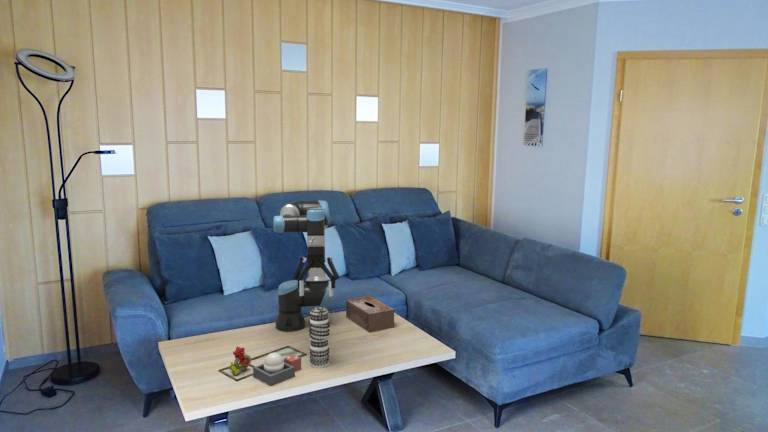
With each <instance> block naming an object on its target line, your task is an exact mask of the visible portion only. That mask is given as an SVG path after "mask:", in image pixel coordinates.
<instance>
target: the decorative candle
mask: <svg viewBox="0 0 768 432" xmlns="http://www.w3.org/2000/svg"><path fill="white" fill-rule="evenodd" d="M308 313H309V317H310V318H309V320H308V322H307V323H308V332H309V333H308V336H309V340H310V344H309V347H310V348H309V351H310V352H309V365H310V367H312V368H316V369H318V368H319V369H322V368H325V367H328V366H329V365H330V347H329V340H330V331H331V330H330V329H329V328H330V327H331V325H330V323H331V321H330V320H329V310H328V309H327V308H326V306H313V308H311V310H309V311H308Z"/></svg>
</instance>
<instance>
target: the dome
mask: <svg viewBox="0 0 768 432" xmlns="http://www.w3.org/2000/svg"><path fill="white" fill-rule="evenodd" d="M263 364H264V371H265V372H267V373H269V374H271V375H272V374H274V373H277V372H279V371H282V370H284V361H283V358H282V356H281V355H280V354H278V353H270V354H269V355H265V358H264V361H263Z"/></svg>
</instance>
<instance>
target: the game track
mask: <svg viewBox="0 0 768 432" xmlns="http://www.w3.org/2000/svg"><path fill="white" fill-rule="evenodd" d="M270 353H278V354H280V355H281V356H282V358H283V361H284V358H286V357H288V356H291V355H296V356H298V357H300V358H302V357H305V356H307V355H308V354H307V353H306V352H304V351H302V350H299V349H297V348H295V347H292V346H290V345H286V346H283V347H281V348H278V349H275V350H271V351H269V352H265V353H263V354H260V355H257V356H254V357H251V361H254V360H257V359H259V358H263V357H266V356H267V355H269V354H270ZM229 366H230V365H228V366H225V367H223V368H220V369H218V372H219V373H220V374H223V375H225V376H226V377H228V378H230V379H232V380H233V381H235V382H238V381H241V380H245V379H247V378H249V377H252V376H253V372H252V373H249V374H247V375H244V376H242V377H241V376H240V377H239V378H237V377H235V376H233V375H231V374H229V373H228V372H226V371H225V370H228V369H229ZM239 366H241V365H240V364H239ZM248 367H250V368H252V369H253V367H256V366H255V365H254V364H251V363H250V365H249V366H248ZM229 370H230V369H229Z"/></svg>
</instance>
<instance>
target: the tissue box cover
mask: <svg viewBox="0 0 768 432" xmlns="http://www.w3.org/2000/svg"><path fill="white" fill-rule="evenodd" d="M345 318H347V319H348V320H350V321H351V322H353V324H355V325H357V326H358V327H360V328H361V329H363V330H365V332H368V333H369V334H371V333H376V332H381V331H384V330H389V329H394V328H395V309H394V308H393V307H391V306H388V305H387V304H385V303H383V302H381V301H380V300H378V299H377V298H374V297H372V296H371V295H368V296H361V297H355V298H349V299H346V300H345Z"/></svg>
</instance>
